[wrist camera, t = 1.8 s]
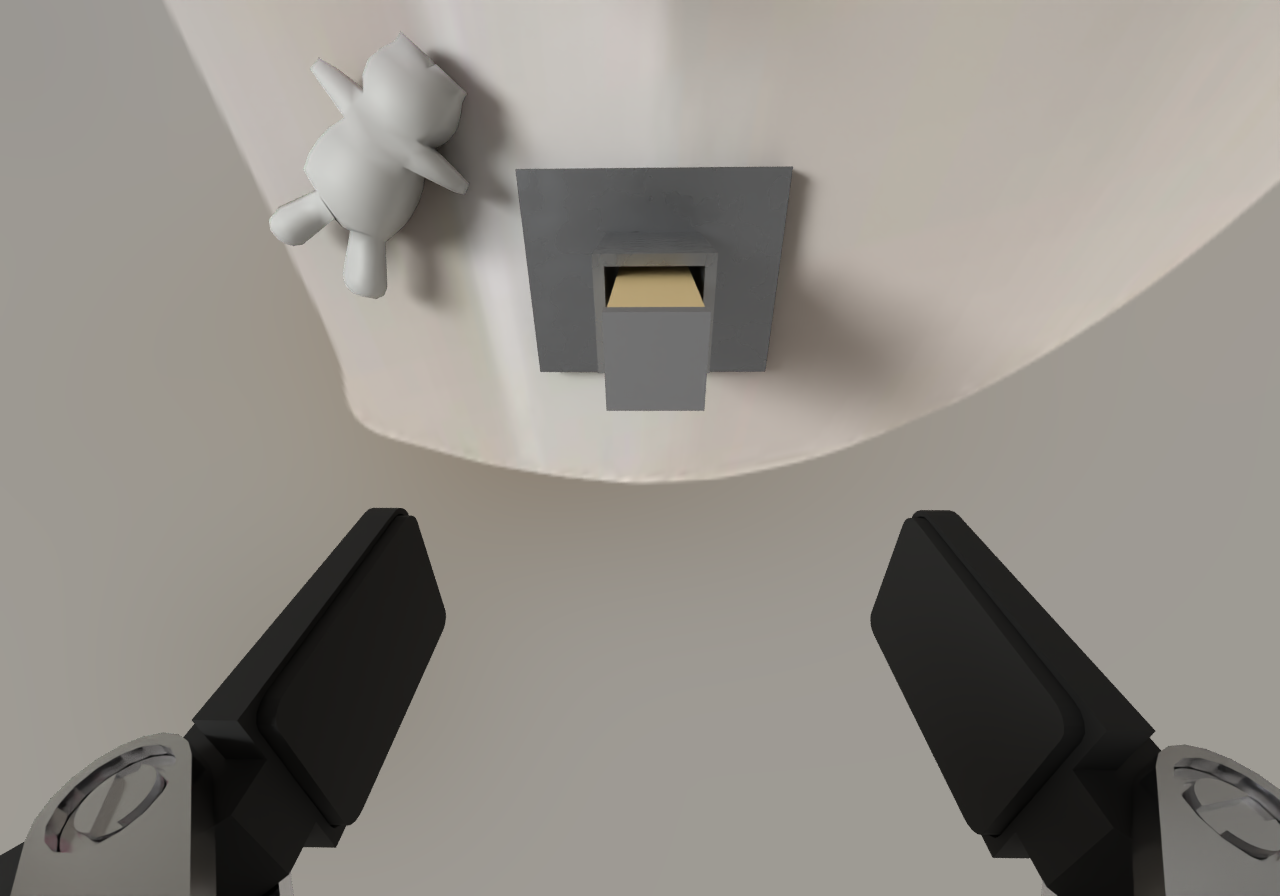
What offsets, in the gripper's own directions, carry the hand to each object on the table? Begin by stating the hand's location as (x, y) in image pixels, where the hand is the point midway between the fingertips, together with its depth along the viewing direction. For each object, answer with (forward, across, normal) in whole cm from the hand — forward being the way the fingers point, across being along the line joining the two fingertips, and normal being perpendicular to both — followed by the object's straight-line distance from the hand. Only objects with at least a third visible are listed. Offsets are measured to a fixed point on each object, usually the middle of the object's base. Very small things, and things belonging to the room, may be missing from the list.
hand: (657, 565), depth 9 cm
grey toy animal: (+31, +18, -7) cm, 36 cm away
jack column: (+28, 0, 0) cm, 28 cm away
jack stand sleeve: (+30, 0, 0) cm, 30 cm away
